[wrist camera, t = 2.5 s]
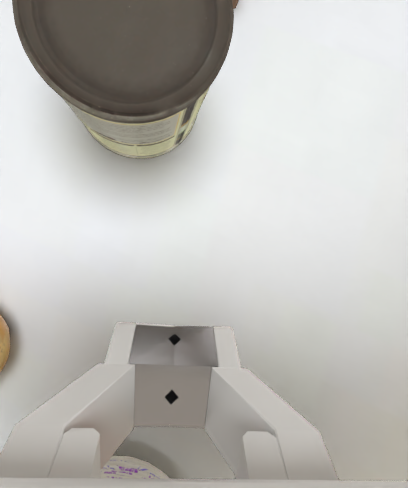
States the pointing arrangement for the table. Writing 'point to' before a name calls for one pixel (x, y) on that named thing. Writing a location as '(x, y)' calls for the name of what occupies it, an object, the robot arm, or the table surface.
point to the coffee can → (128, 64)
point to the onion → (4, 343)
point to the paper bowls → (131, 469)
